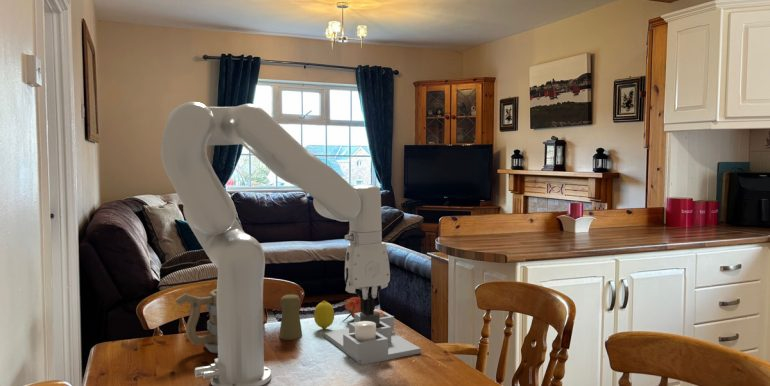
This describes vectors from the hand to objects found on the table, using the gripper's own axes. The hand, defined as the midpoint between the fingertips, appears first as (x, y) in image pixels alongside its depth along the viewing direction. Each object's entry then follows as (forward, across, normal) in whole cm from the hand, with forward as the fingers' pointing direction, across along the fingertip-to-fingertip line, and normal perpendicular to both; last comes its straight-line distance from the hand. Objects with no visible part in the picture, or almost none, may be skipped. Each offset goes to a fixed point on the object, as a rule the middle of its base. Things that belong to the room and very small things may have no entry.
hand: (367, 313), depth 135 cm
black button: (+6, +4, +8) cm, 11 cm away
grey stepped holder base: (+10, +4, +8) cm, 14 cm away
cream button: (+6, -1, 0) cm, 6 cm away
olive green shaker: (+10, -11, +24) cm, 28 cm away
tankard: (+10, -30, +24) cm, 40 cm away
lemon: (+11, -1, +24) cm, 27 cm away
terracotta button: (+9, +9, +15) cm, 20 cm away
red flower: (+11, +10, +28) cm, 31 cm away
